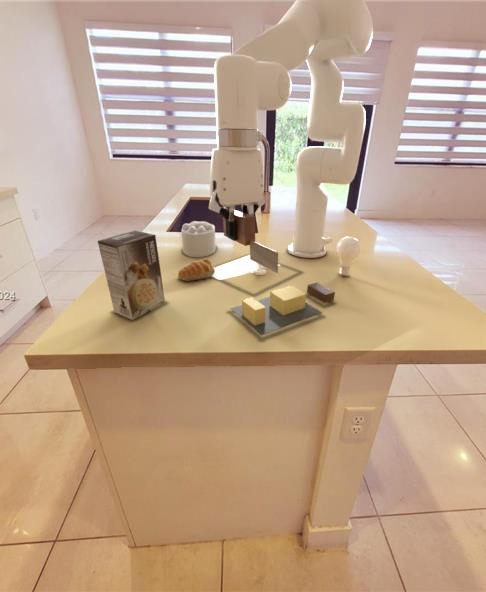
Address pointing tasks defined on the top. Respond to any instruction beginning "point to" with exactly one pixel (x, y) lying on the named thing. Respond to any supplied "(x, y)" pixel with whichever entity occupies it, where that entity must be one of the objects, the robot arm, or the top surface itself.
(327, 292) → the knife rest
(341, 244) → the lightbulb
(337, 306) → the top surface
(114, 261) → the coffee box
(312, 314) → the butter dish
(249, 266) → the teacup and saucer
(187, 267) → the pastry
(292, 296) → the butter block
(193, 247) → the lumpy-topped squat cylinder
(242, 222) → the knife
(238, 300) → the top surface
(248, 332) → the top surface
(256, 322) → the butter slice
